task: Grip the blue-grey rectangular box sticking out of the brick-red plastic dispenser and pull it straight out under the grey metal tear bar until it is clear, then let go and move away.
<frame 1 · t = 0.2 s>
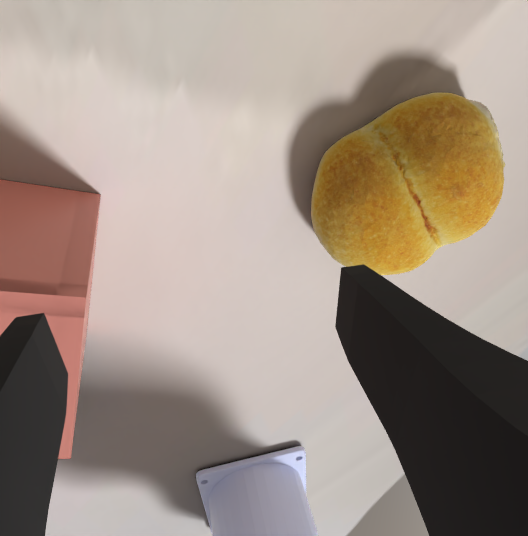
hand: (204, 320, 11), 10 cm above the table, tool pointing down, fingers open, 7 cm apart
dispenser: (15, 264, 20), on the table
bread roll: (393, 176, 22), on the table
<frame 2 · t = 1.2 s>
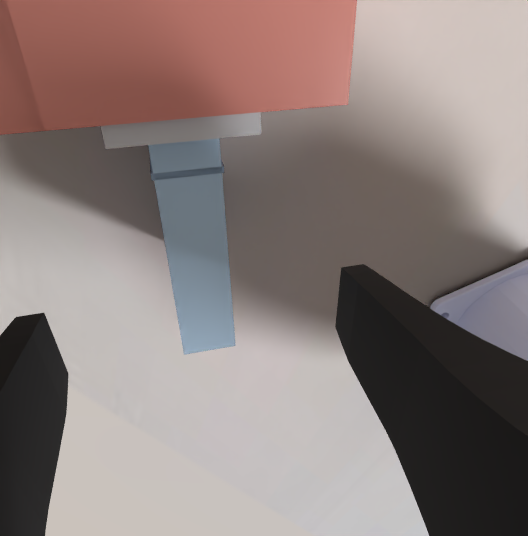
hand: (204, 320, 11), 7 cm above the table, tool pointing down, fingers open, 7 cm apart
blue-grey rectangular box: (174, 93, 12), point 3 cm above the table, slide at 0.0 cm
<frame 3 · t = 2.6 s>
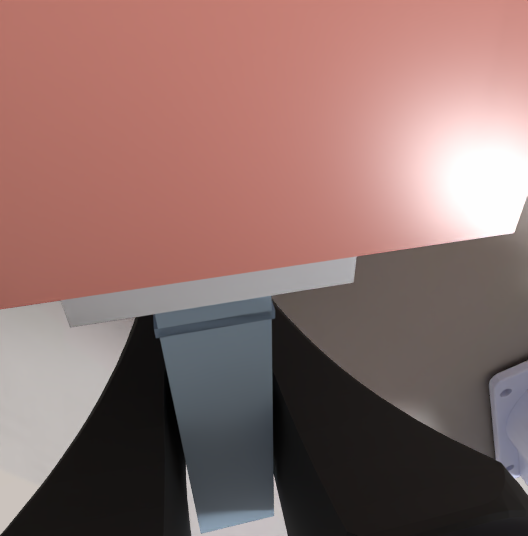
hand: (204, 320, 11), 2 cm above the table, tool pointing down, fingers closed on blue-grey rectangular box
blue-grey rectangular box: (188, 169, 8), point 3 cm above the table, slide at 0.0 cm, touching gripper
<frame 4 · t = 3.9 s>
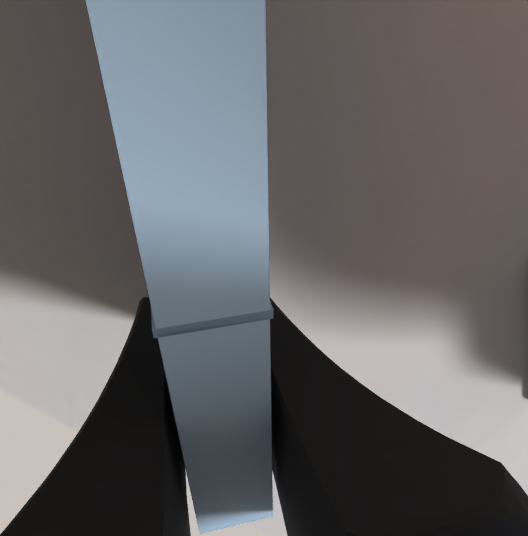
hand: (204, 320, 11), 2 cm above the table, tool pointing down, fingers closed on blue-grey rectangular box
blue-grey rectangular box: (187, 169, 8), point 3 cm above the table, slide at 5.9 cm, touching gripper
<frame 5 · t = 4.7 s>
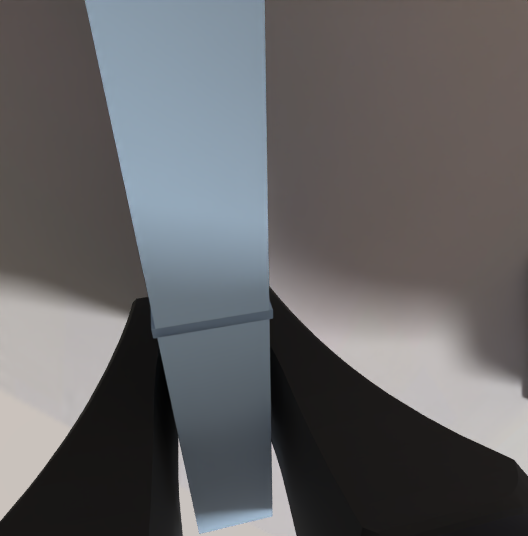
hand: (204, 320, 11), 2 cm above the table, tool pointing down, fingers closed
blue-grey rectangular box: (186, 169, 8), point 3 cm above the table, slide at 5.9 cm
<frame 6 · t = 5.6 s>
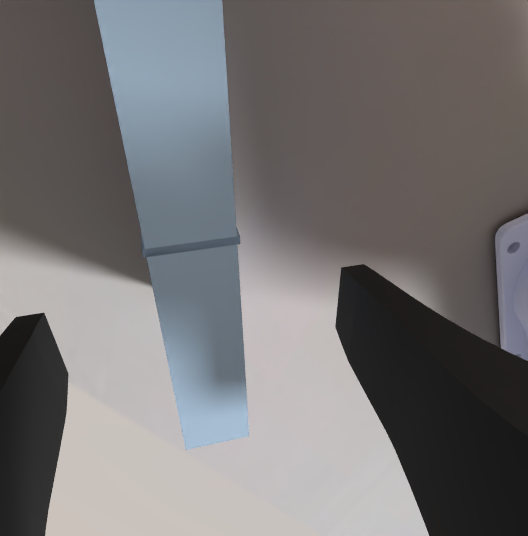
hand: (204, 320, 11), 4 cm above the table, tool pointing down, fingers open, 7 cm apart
blue-grey rectangular box: (171, 130, 9), point 3 cm above the table, slide at 5.9 cm
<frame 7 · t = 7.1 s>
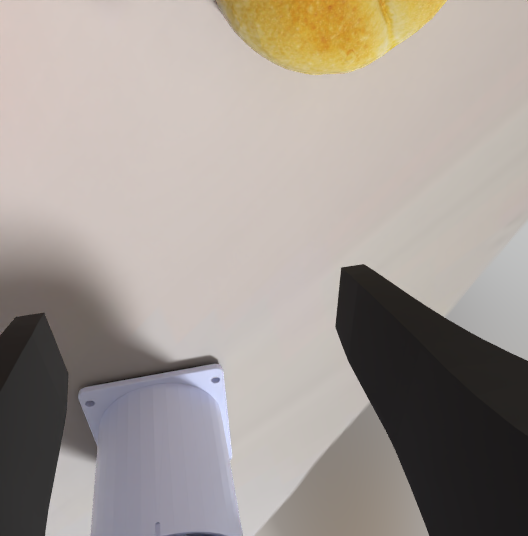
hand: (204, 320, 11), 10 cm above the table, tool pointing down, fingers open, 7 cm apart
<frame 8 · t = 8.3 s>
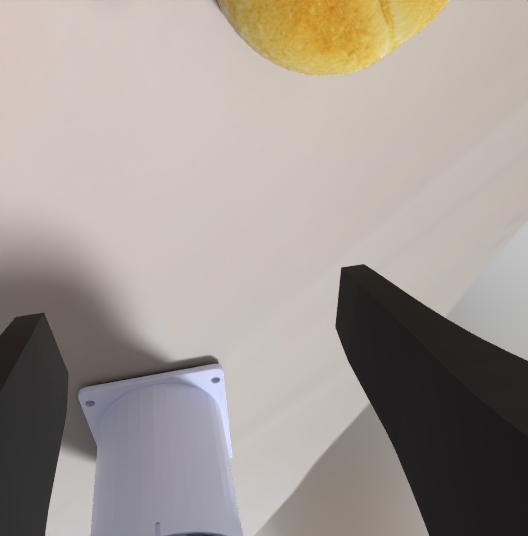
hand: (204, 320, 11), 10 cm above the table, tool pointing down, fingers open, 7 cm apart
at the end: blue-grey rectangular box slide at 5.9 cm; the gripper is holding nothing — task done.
